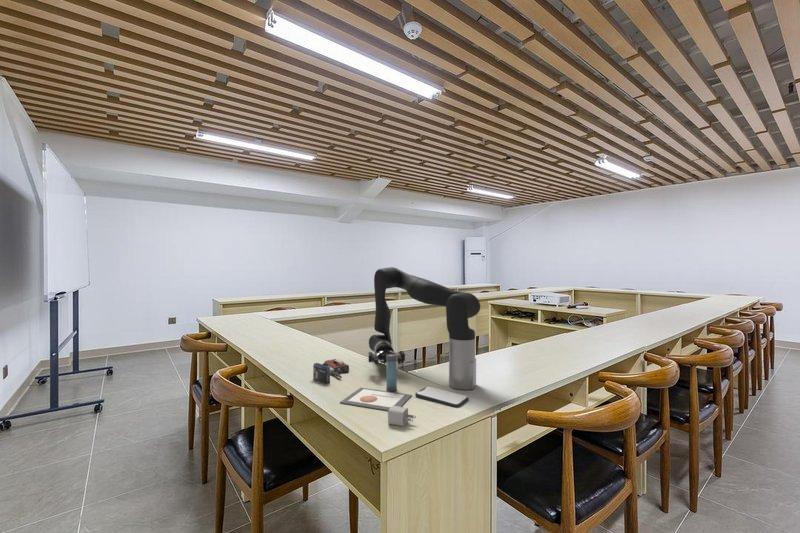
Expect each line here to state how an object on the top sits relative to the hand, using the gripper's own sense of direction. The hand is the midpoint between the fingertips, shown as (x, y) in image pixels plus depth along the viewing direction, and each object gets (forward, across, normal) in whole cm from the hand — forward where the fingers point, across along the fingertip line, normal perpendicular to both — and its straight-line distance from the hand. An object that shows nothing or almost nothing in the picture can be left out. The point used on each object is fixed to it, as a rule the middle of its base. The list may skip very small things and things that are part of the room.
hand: (388, 361), depth 133 cm
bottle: (+10, 0, +7) cm, 12 cm away
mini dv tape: (-4, -25, +8) cm, 26 cm away
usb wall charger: (+36, 0, +8) cm, 37 cm away
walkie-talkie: (-14, -19, +8) cm, 25 cm away
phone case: (+20, +15, +8) cm, 26 cm away
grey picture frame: (+18, -6, +7) cm, 20 cm away
